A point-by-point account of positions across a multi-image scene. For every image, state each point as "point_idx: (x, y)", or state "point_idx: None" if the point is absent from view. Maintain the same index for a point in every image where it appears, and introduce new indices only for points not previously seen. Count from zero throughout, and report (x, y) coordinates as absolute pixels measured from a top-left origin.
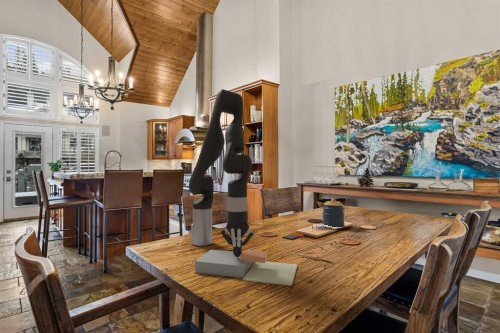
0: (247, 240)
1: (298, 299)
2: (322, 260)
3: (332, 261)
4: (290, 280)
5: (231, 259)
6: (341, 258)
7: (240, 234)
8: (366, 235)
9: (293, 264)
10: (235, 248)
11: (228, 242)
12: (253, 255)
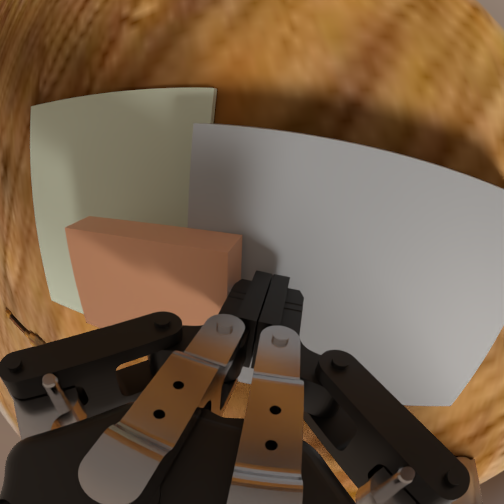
0: (95, 336)
1: (30, 25)
2: (25, 330)
3: (6, 315)
4: (34, 138)
5: (318, 258)
6: (10, 339)
7: (131, 415)
8: None
9: (60, 301)
10: (273, 315)
11: (355, 370)
12: (129, 255)
